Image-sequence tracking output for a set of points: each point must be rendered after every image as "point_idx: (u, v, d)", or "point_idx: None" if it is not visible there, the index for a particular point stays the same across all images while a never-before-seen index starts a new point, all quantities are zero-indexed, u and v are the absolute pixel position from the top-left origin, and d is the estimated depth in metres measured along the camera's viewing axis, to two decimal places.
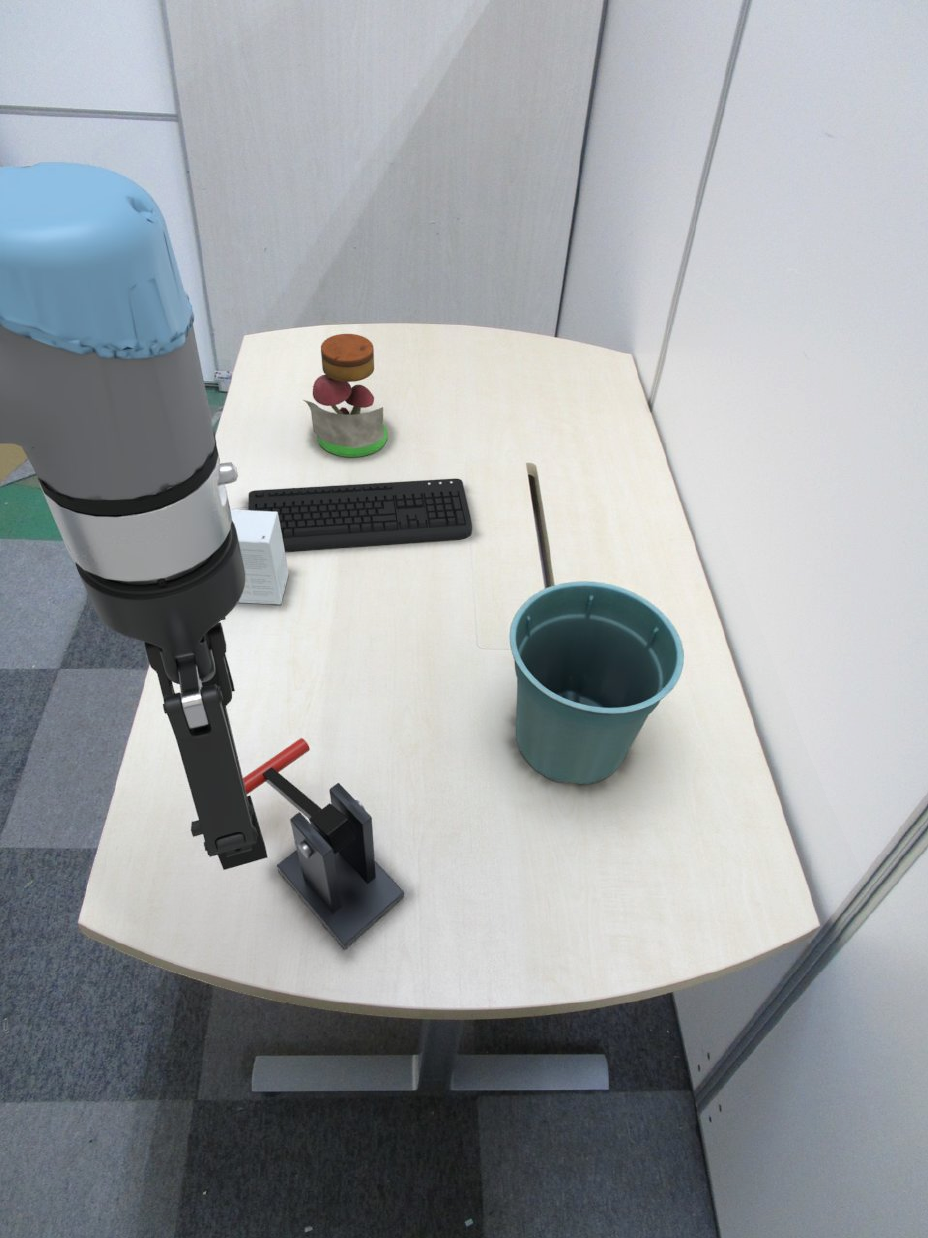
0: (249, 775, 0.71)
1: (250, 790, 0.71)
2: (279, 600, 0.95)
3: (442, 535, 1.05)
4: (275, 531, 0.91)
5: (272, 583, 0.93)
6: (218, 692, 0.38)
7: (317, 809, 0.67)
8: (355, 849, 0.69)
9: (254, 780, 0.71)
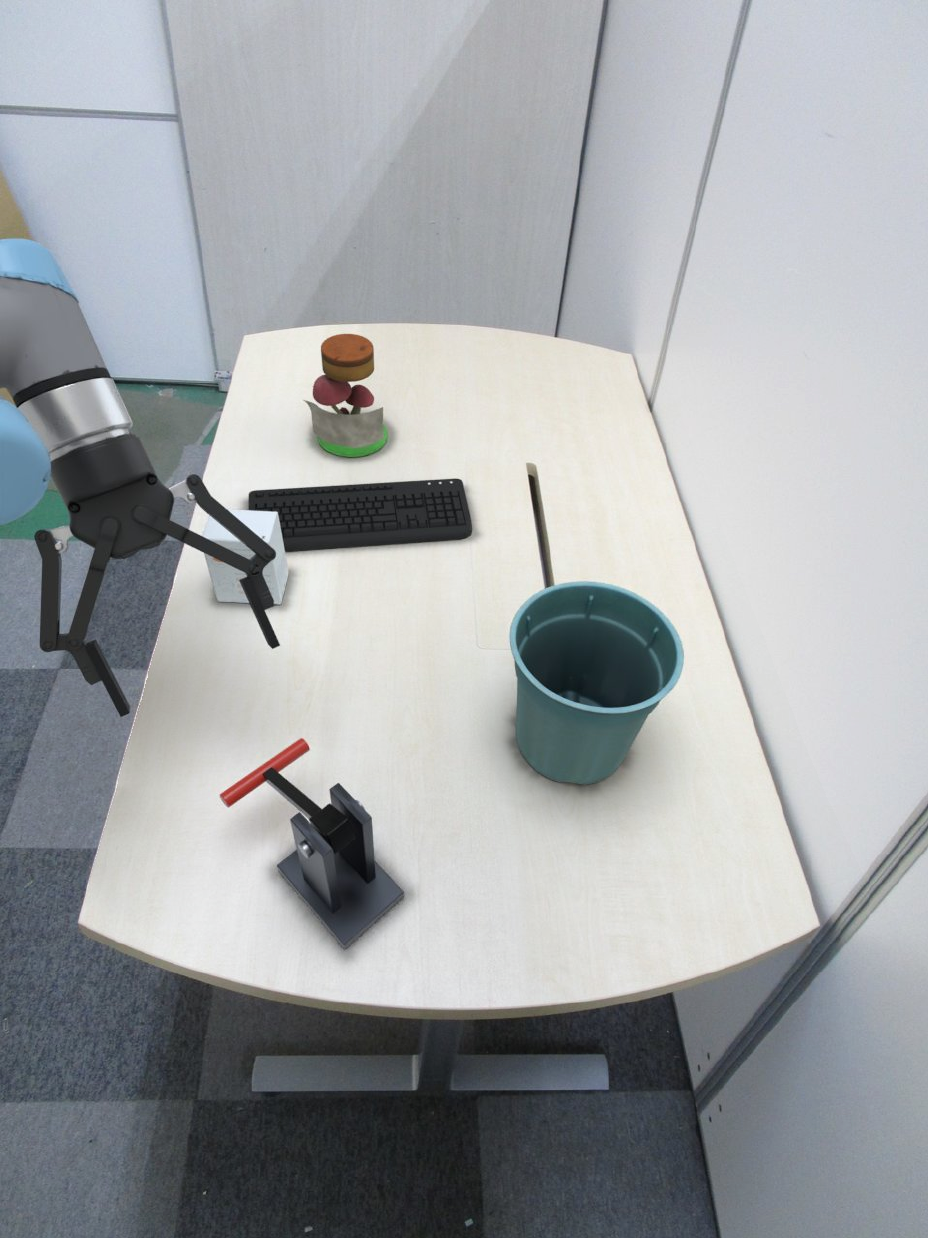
0: (249, 775, 0.71)
1: (250, 790, 0.71)
2: (279, 600, 0.95)
3: (442, 535, 1.05)
4: (275, 531, 0.91)
5: (272, 583, 0.93)
6: None
7: (317, 809, 0.67)
8: (355, 849, 0.69)
9: (254, 780, 0.71)
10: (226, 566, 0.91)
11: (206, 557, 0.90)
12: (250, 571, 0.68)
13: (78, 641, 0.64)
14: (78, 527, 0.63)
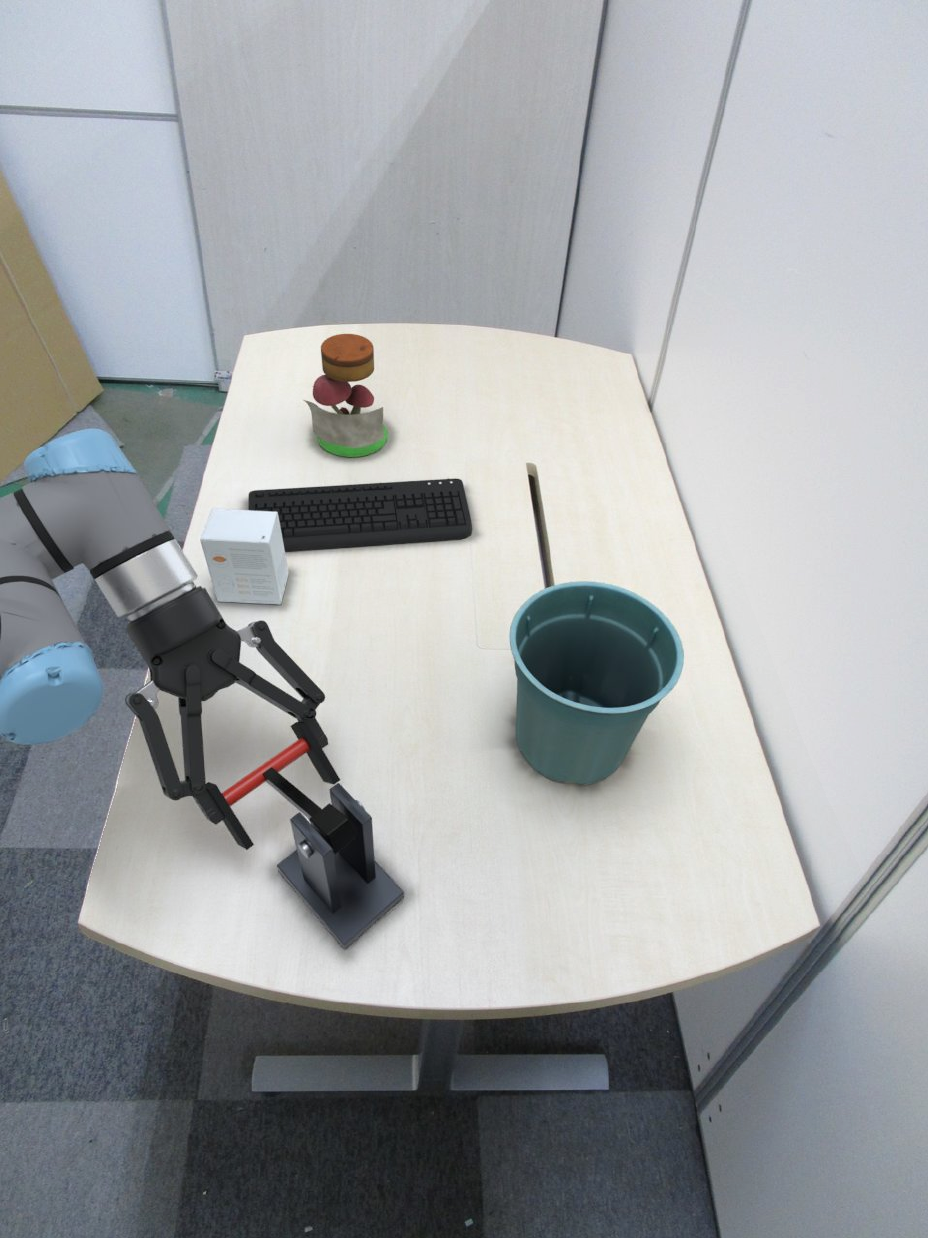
0: (249, 775, 0.71)
1: (250, 790, 0.71)
2: (279, 600, 0.95)
3: (442, 535, 1.05)
4: (275, 531, 0.91)
5: (272, 583, 0.93)
6: None
7: (317, 809, 0.67)
8: (355, 849, 0.69)
9: (254, 780, 0.71)
10: (226, 566, 0.91)
11: (206, 557, 0.90)
12: (305, 715, 0.74)
13: (202, 784, 0.68)
14: (162, 678, 0.67)
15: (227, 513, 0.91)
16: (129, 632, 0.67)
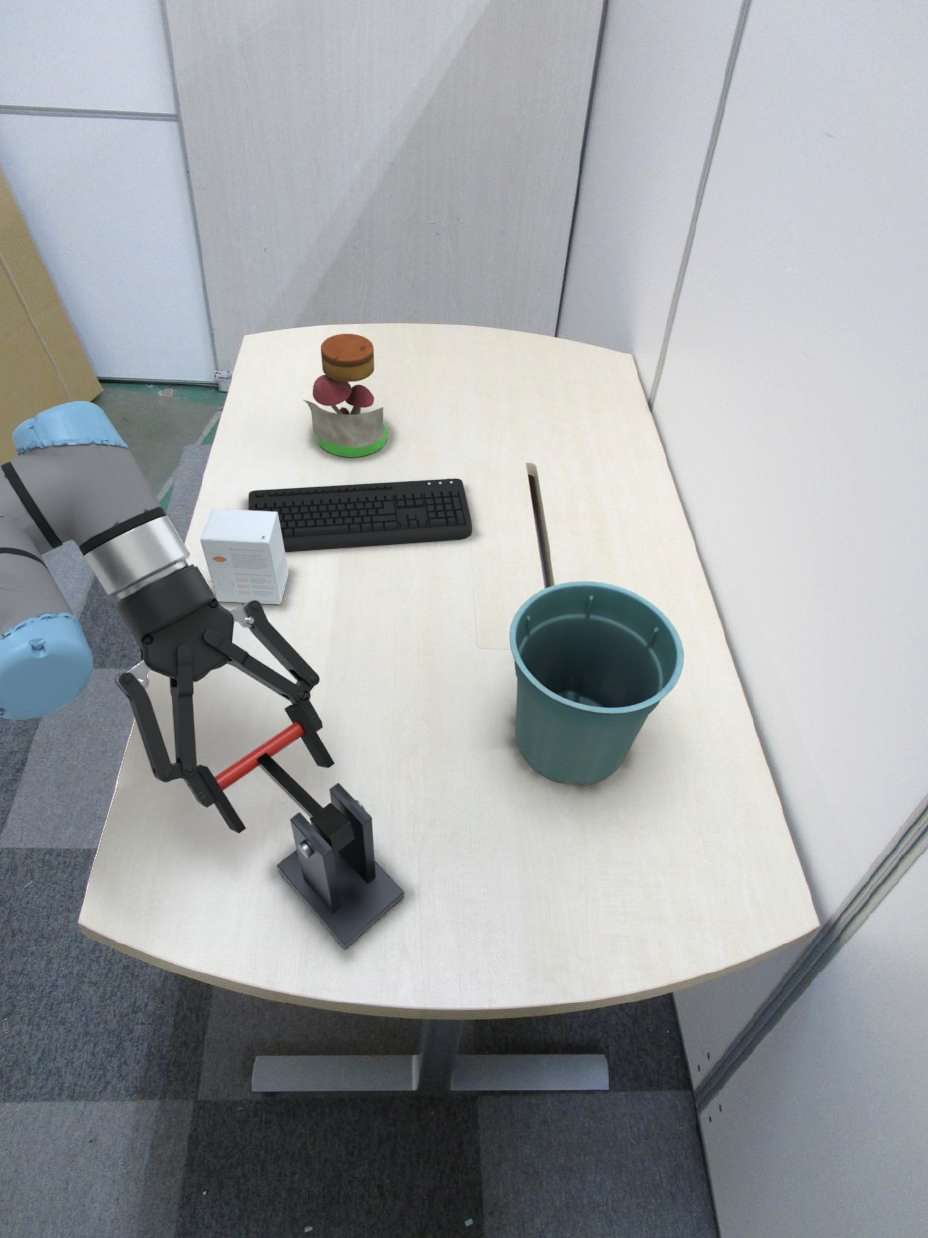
0: (243, 760, 0.70)
1: (243, 775, 0.70)
2: (279, 600, 0.95)
3: (442, 535, 1.05)
4: (275, 531, 0.91)
5: (272, 583, 0.93)
6: None
7: (316, 806, 0.66)
8: (355, 849, 0.69)
9: (248, 765, 0.70)
10: (226, 566, 0.91)
11: (206, 557, 0.90)
12: (299, 697, 0.72)
13: (193, 766, 0.67)
14: (153, 657, 0.66)
15: (227, 513, 0.91)
16: (119, 610, 0.65)
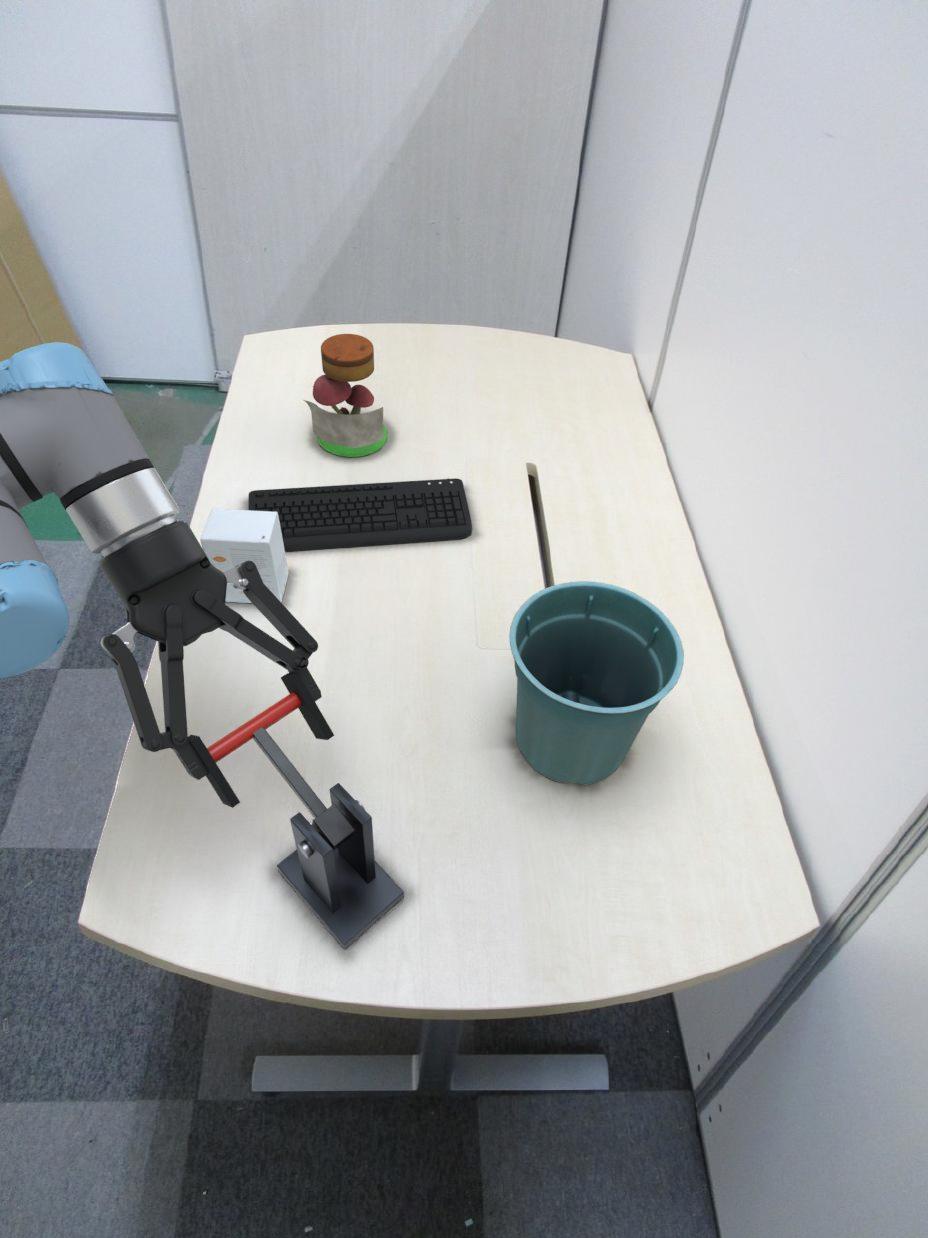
0: (239, 733, 0.66)
1: (237, 748, 0.66)
2: (279, 600, 0.95)
3: (442, 535, 1.05)
4: (275, 531, 0.91)
5: (272, 583, 0.93)
6: None
7: (317, 803, 0.65)
8: (355, 849, 0.69)
9: (243, 740, 0.66)
10: (226, 566, 0.91)
11: None
12: (296, 665, 0.68)
13: (183, 735, 0.63)
14: (140, 619, 0.62)
15: (227, 513, 0.91)
16: (104, 568, 0.61)
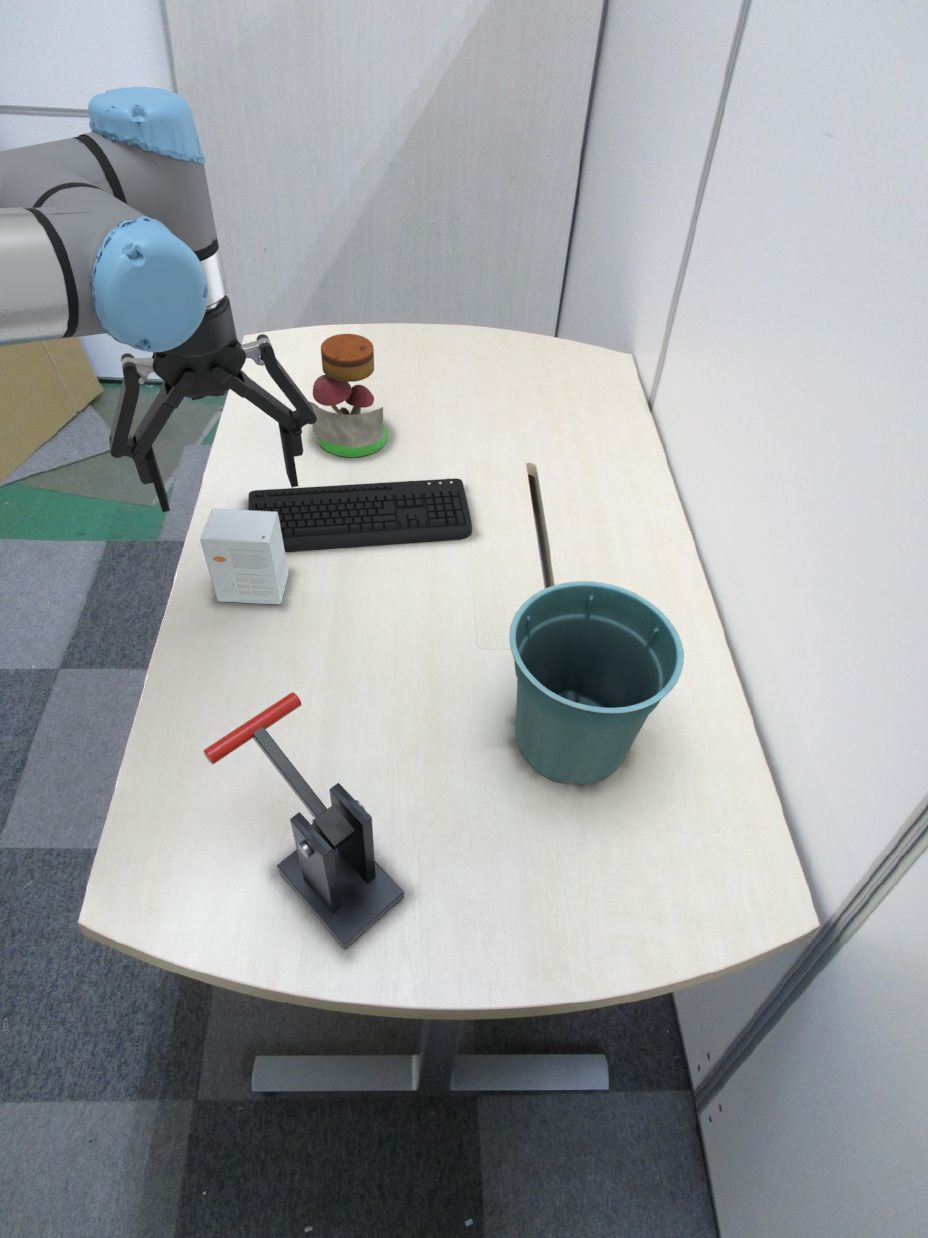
0: (239, 733, 0.66)
1: None
2: (279, 600, 0.95)
3: (442, 535, 1.05)
4: (275, 531, 0.91)
5: (272, 583, 0.93)
6: None
7: (317, 803, 0.65)
8: (355, 849, 0.69)
9: (243, 740, 0.66)
10: (226, 566, 0.91)
11: (206, 557, 0.90)
12: (292, 429, 0.81)
13: (142, 454, 0.77)
14: (161, 369, 0.72)
15: (227, 513, 0.91)
16: None
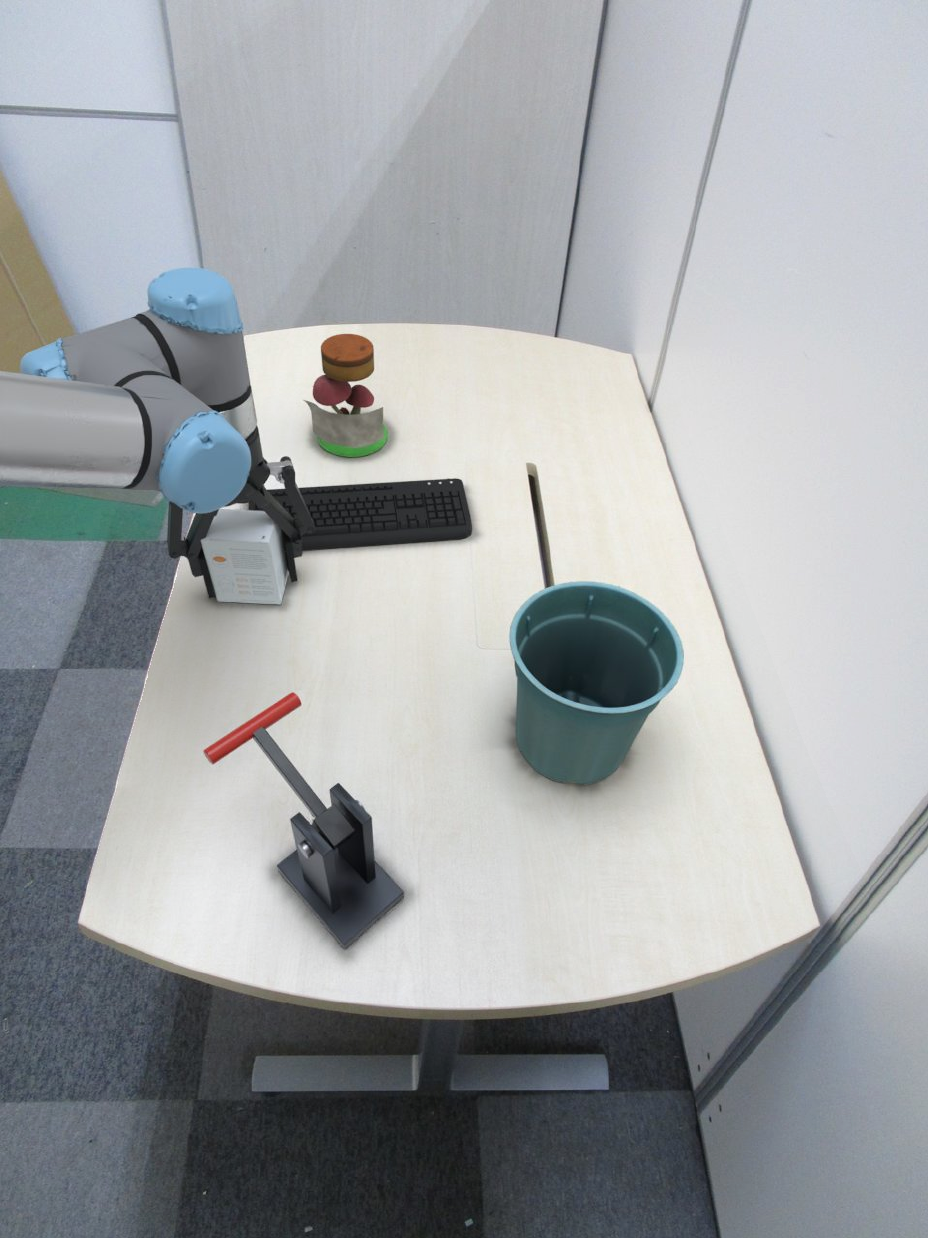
0: (239, 733, 0.66)
1: None
2: (279, 600, 0.95)
3: (442, 535, 1.05)
4: (275, 531, 0.91)
5: (272, 583, 0.93)
6: None
7: (317, 803, 0.65)
8: (355, 849, 0.69)
9: (243, 740, 0.66)
10: (226, 566, 0.91)
11: (206, 557, 0.90)
12: (293, 537, 0.93)
13: (195, 555, 0.90)
14: None
15: (227, 513, 0.91)
16: None
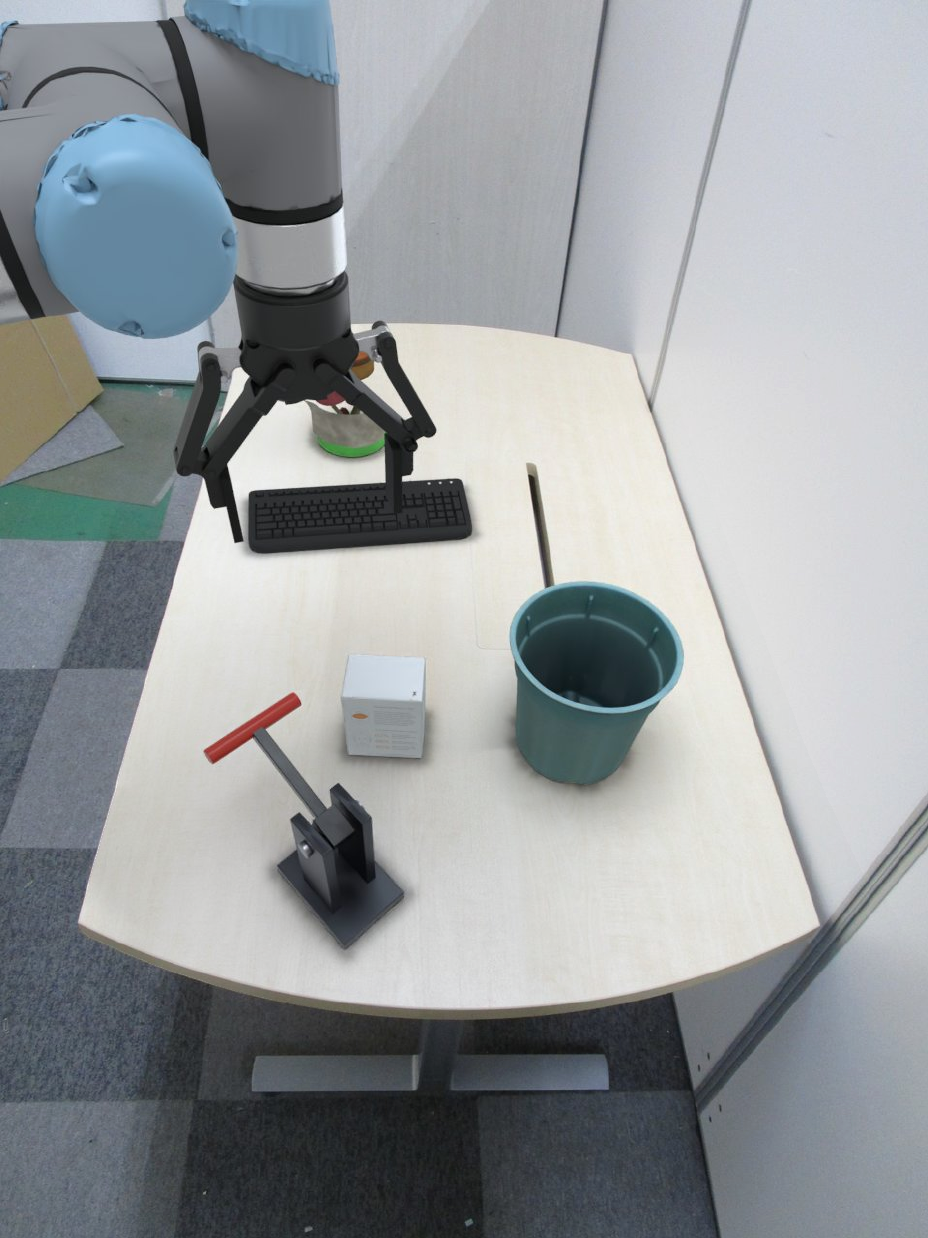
0: (239, 733, 0.66)
1: None
2: (421, 754, 0.82)
3: (442, 535, 1.05)
4: (424, 682, 0.78)
5: (417, 738, 0.80)
6: None
7: (317, 803, 0.65)
8: (355, 849, 0.69)
9: (243, 740, 0.66)
10: (366, 723, 0.78)
11: (344, 714, 0.77)
12: (404, 443, 0.63)
13: (215, 473, 0.59)
14: (250, 363, 0.54)
15: (367, 661, 0.78)
16: (235, 292, 0.51)
